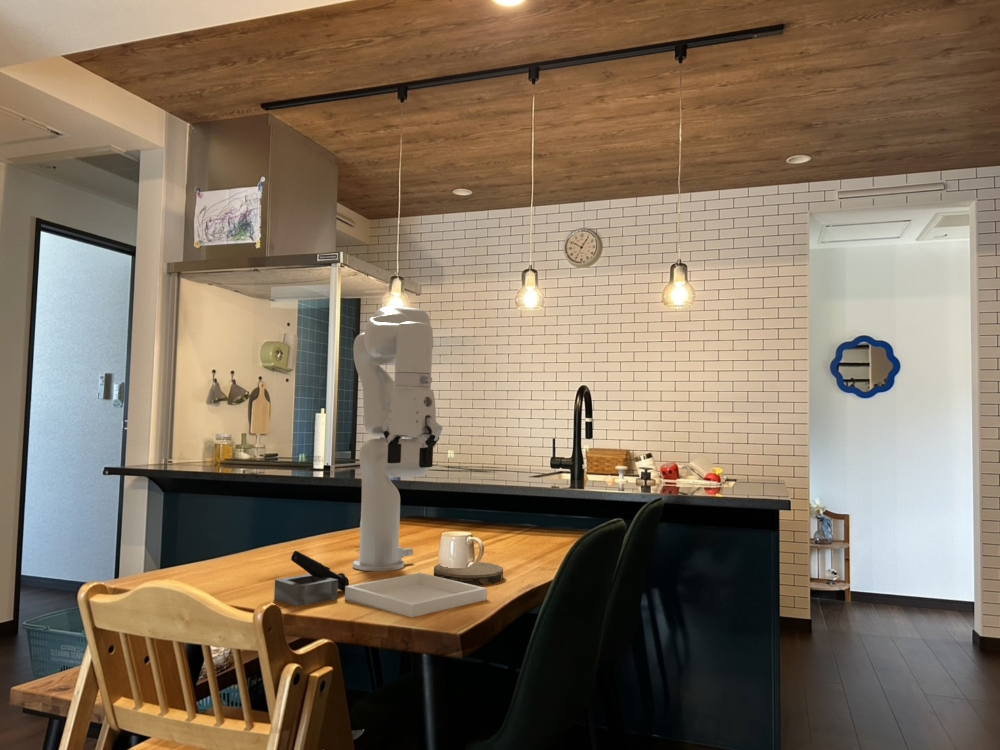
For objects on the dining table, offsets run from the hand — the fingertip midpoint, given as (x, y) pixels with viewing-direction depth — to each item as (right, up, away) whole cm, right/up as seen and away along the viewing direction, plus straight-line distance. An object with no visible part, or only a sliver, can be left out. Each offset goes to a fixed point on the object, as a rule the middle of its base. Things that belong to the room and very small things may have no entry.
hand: (409, 465), depth 158 cm
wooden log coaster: (+11, -29, +17) cm, 36 cm away
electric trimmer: (-23, -19, -7) cm, 30 cm away
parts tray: (+2, -27, -5) cm, 27 cm away
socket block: (-20, -26, -5) cm, 34 cm away
